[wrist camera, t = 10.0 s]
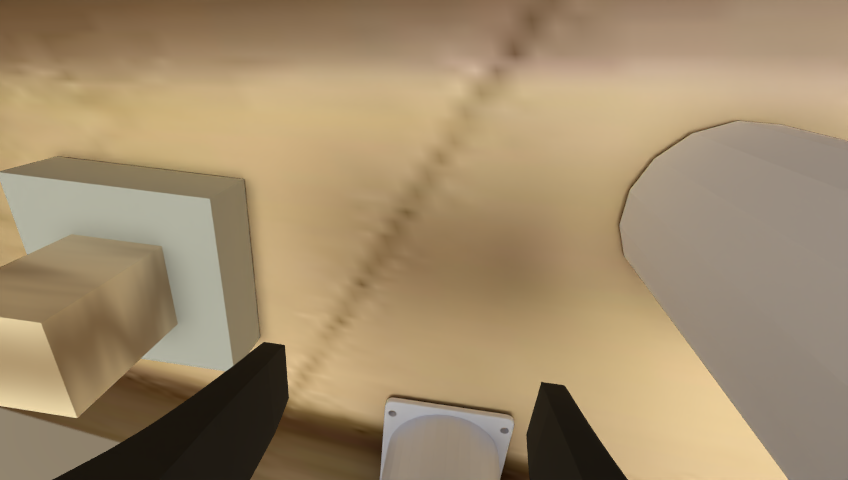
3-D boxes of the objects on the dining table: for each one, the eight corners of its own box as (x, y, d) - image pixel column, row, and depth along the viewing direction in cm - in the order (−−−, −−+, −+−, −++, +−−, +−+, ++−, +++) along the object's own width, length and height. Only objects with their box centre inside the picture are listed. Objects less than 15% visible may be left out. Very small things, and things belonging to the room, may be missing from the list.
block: (177, 324, 21) (77, 417, 16) (95, 312, 21) (-32, 400, 16) (161, 246, 19) (40, 323, 14) (71, 234, 20) (-82, 305, 14)
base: (259, 337, 25) (234, 372, 22) (104, 315, 26) (60, 346, 23) (244, 179, 21) (209, 198, 18) (57, 156, 21) (-4, 171, 19)
